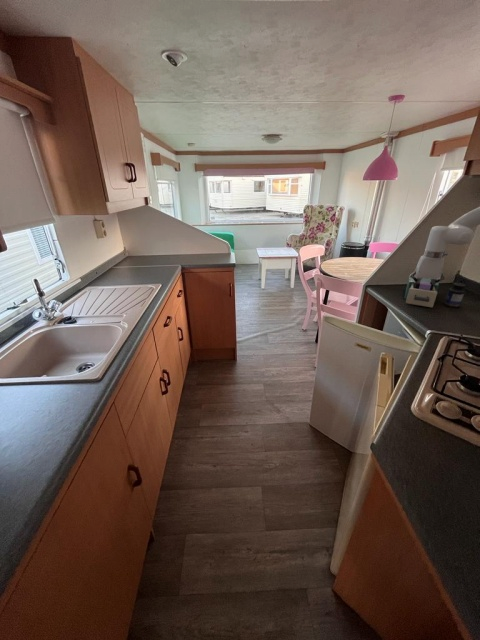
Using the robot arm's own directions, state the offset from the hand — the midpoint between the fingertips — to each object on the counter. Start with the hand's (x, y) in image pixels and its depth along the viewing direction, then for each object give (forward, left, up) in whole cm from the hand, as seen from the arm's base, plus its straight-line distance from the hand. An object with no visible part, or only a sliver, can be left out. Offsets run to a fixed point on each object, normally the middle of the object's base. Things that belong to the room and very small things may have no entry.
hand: (422, 290), depth 131 cm
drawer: (0, 0, -6) cm, 6 cm away
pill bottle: (-15, -3, -7) cm, 16 cm away
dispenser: (-2, -11, -7) cm, 13 cm away
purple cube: (0, 0, 0) cm, 0 cm away
